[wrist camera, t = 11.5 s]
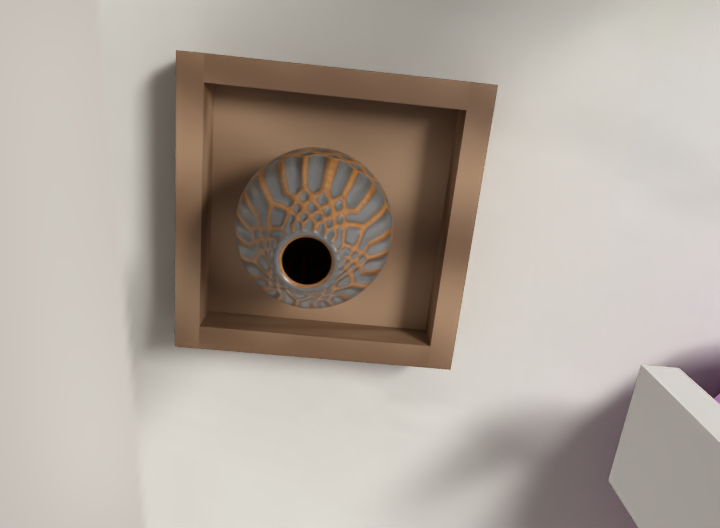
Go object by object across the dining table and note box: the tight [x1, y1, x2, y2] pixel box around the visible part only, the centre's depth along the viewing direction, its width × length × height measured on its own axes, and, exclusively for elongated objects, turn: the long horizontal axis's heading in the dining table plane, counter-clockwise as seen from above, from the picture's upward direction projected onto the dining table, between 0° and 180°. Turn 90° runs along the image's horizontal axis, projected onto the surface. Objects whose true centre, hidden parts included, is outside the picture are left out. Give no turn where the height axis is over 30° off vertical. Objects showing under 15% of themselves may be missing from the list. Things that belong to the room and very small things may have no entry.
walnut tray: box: [175, 50, 498, 370], centre depth 28 cm, size 14×14×3 cm
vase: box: [234, 147, 393, 309], centre depth 25 cm, size 7×7×9 cm
